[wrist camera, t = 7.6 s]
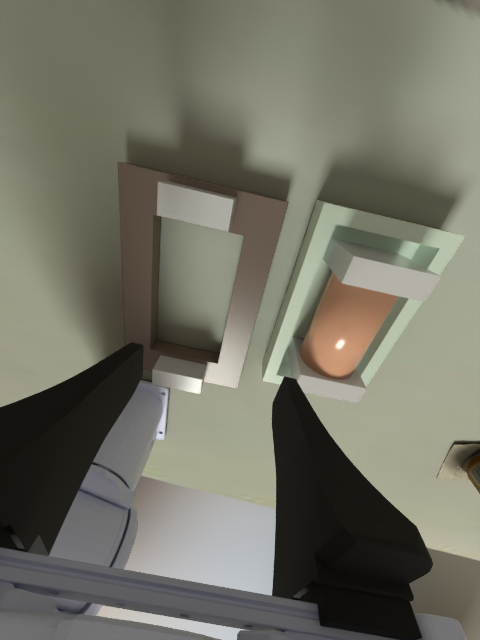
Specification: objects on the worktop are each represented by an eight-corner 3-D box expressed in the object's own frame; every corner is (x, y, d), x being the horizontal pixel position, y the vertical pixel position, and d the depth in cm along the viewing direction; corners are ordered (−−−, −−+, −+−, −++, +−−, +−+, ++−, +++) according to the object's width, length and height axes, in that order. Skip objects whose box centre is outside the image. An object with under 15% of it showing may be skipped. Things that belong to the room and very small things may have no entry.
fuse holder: (237, 377, 25) (234, 404, 22) (133, 355, 25) (115, 379, 22) (286, 200, 17) (291, 205, 14) (129, 163, 16) (99, 159, 13)
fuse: (338, 361, 23) (357, 403, 19) (287, 350, 23) (293, 390, 18) (397, 252, 18) (441, 276, 13) (330, 237, 17) (353, 256, 13)
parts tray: (348, 382, 25) (357, 400, 22) (262, 363, 24) (262, 380, 22) (440, 229, 17) (465, 236, 15) (316, 199, 17) (324, 202, 15)
